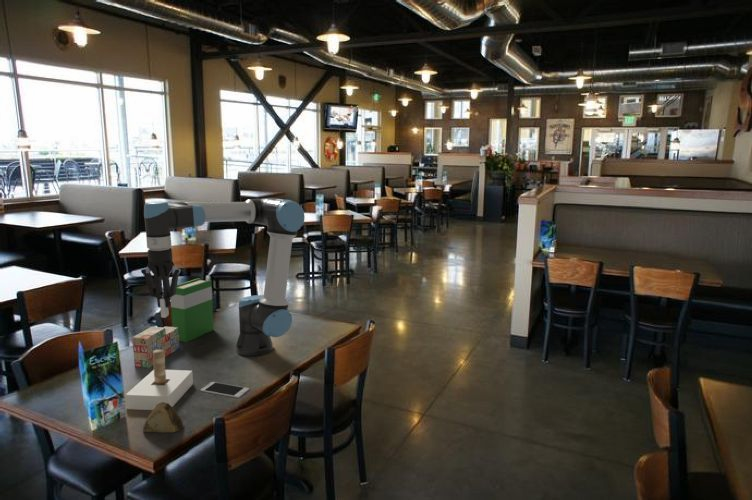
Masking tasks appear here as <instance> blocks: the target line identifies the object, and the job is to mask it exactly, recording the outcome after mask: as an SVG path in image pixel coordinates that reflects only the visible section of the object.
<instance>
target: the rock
mask: <svg viewBox="0 0 752 500" xmlns="http://www.w3.org/2000/svg"><path fill="white" fill-rule="evenodd" d="M184 427H185V424H184V421H183V420H182V418H181V416H180V415H179V414H178V413H177V411H176V410H175V408H174V407H172V406H170V405H169V404H168V403H165V402H161V403H159V404H157V405H156V407H155V408H154V409H153V410H151V412H150V413H149V414H148V416H147V418H146V420H145V423H144V425H143V429H142V431H143V432H148V433H149V432H150V433H176V432H178V431H180V430H182V429H183V428H184Z"/></svg>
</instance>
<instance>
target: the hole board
mask: <svg viewBox="0 0 752 500" xmlns="http://www.w3.org/2000/svg"><path fill="white" fill-rule="evenodd" d="M165 371H166V384H165V385H155V383H154V381H155V379H154V369H153V370H152V371H150V372H149V373H148V374H147V375H146V376H145V377H143V379H141V380H140V381H139V382H137V384H136V385H135V386H133V388H131V389H130V390H128V392H127V393H126V394H125V406H126V407H125V408H126V410H139V411H153V409H154V408H155V407H156V405H157V404H159V403H161V402H165V403H168V404H169V405H170V406H172V408H174V406H175V404H177V402H178V401H180V399H181V398H182V397H183V396H184V394H186V392H187V391H188V390H189V389H190V388H191V387H192V386H193V385H194V381H193V380H194V379H193V378H194V376H193V375H194V374H193V370H187V369H186V370H181V369H165Z"/></svg>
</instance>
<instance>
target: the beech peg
mask: <svg viewBox="0 0 752 500" xmlns="http://www.w3.org/2000/svg"><path fill="white" fill-rule="evenodd" d="M153 364H154V365H153V370H154V379H155V381H154V383H155V385H165V384H166V371H165V370H166V357H165V354H164V350H155V351H153Z"/></svg>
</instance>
